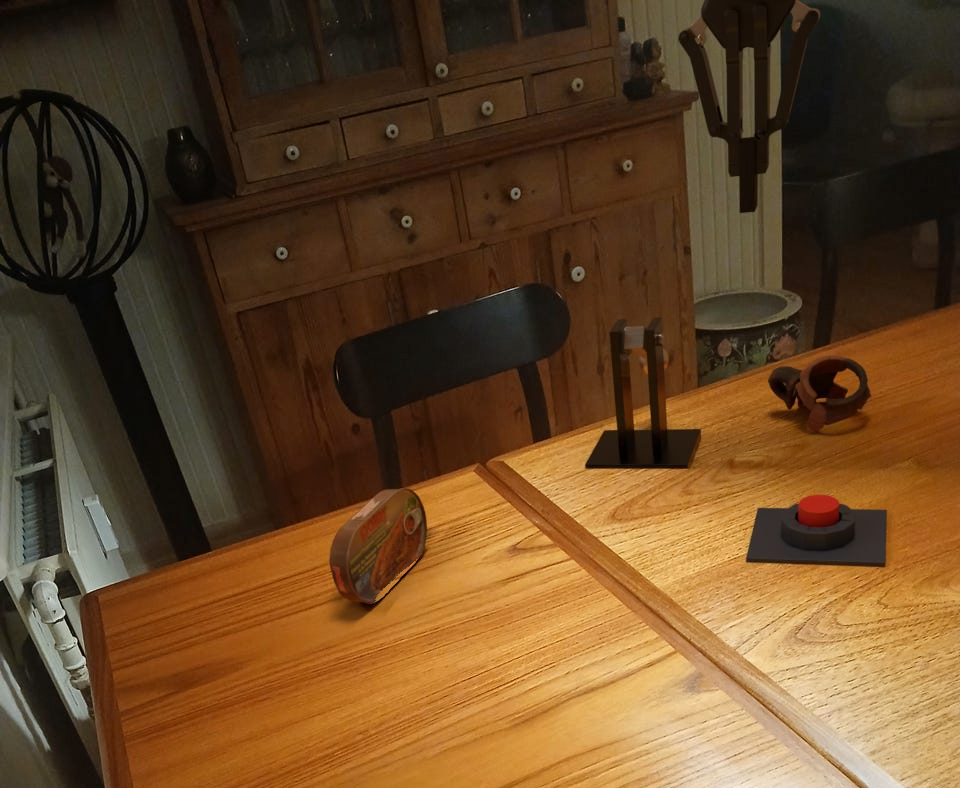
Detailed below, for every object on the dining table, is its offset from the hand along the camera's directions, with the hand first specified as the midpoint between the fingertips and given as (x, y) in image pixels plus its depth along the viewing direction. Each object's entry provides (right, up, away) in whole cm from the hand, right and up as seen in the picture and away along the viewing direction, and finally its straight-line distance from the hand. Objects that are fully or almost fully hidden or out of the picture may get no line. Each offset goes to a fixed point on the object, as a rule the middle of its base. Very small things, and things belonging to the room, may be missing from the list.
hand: (748, 209), depth 101 cm
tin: (-37, -38, +2) cm, 53 cm away
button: (+4, -33, -9) cm, 34 cm away
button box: (+5, -36, -7) cm, 37 cm away
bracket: (-8, -22, +17) cm, 29 cm away
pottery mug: (+14, -17, +19) cm, 29 cm away
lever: (-8, -12, +15) cm, 21 cm away
